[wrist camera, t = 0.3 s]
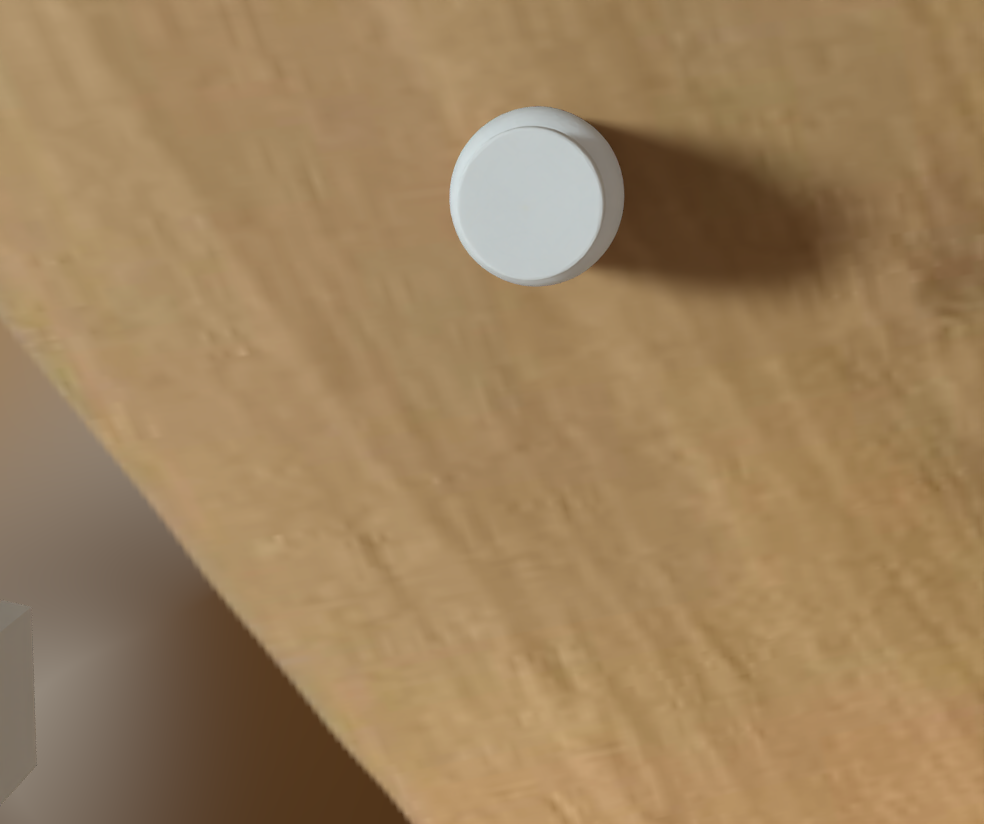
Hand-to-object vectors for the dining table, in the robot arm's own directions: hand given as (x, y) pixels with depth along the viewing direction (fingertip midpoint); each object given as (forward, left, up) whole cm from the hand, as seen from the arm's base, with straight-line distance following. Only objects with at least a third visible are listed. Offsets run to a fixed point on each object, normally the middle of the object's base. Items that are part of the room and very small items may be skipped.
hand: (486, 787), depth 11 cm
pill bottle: (-7, -1, -28) cm, 29 cm away
